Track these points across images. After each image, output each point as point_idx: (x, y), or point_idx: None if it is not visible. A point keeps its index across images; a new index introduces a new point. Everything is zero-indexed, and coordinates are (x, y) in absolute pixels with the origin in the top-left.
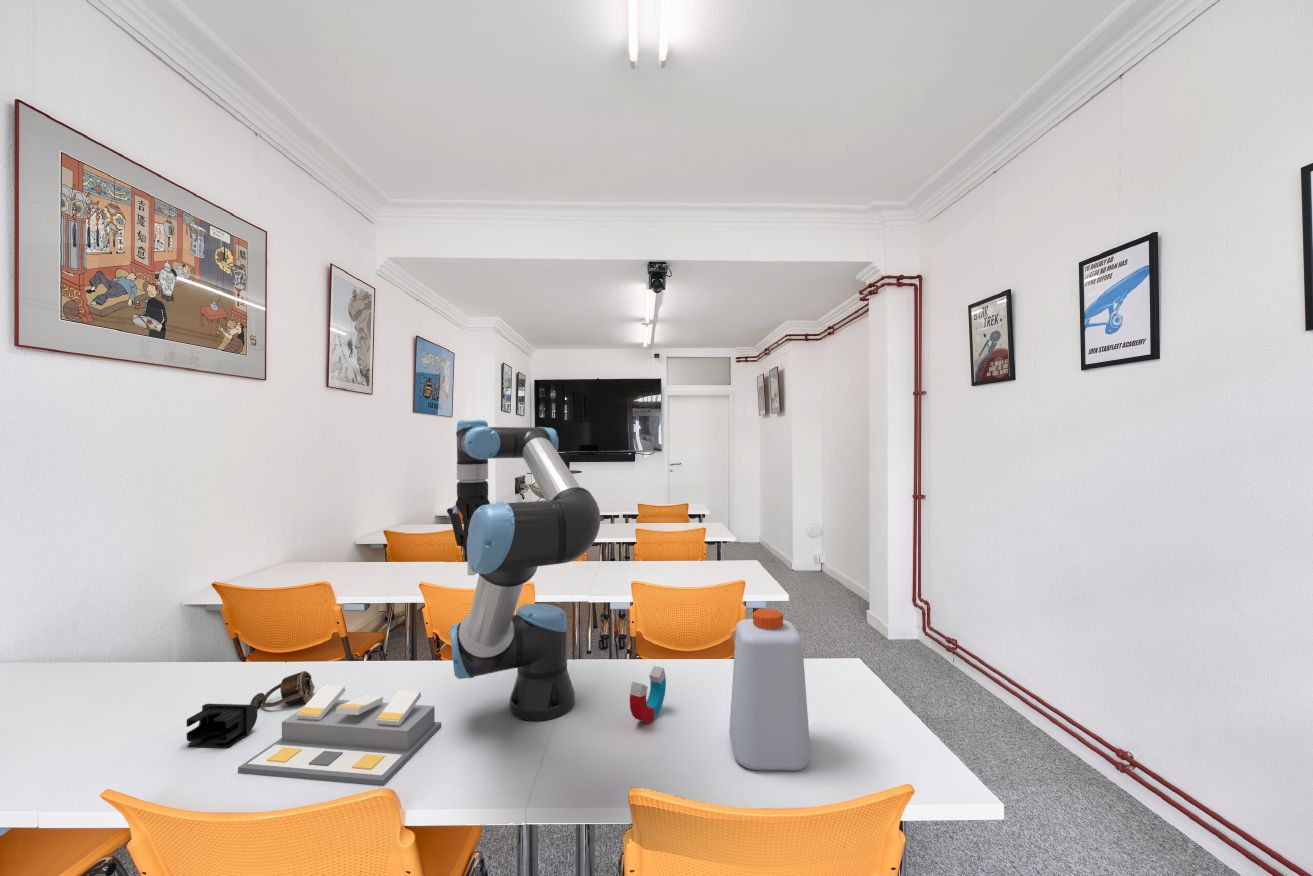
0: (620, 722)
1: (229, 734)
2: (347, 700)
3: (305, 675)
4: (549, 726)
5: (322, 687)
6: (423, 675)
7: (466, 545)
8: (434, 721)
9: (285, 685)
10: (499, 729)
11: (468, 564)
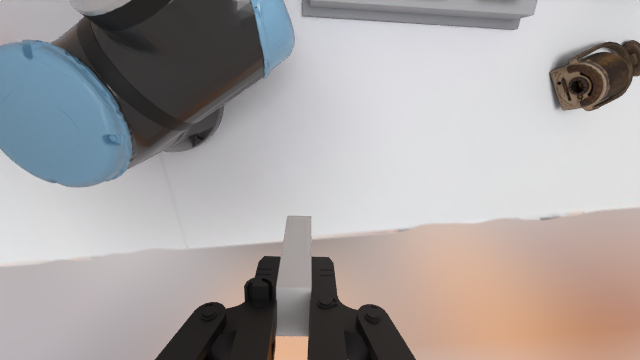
0: None
1: None
2: (477, 10)
3: (594, 85)
4: None
5: None
6: (407, 179)
7: (320, 307)
8: (310, 5)
9: (614, 58)
10: None
11: (306, 239)
